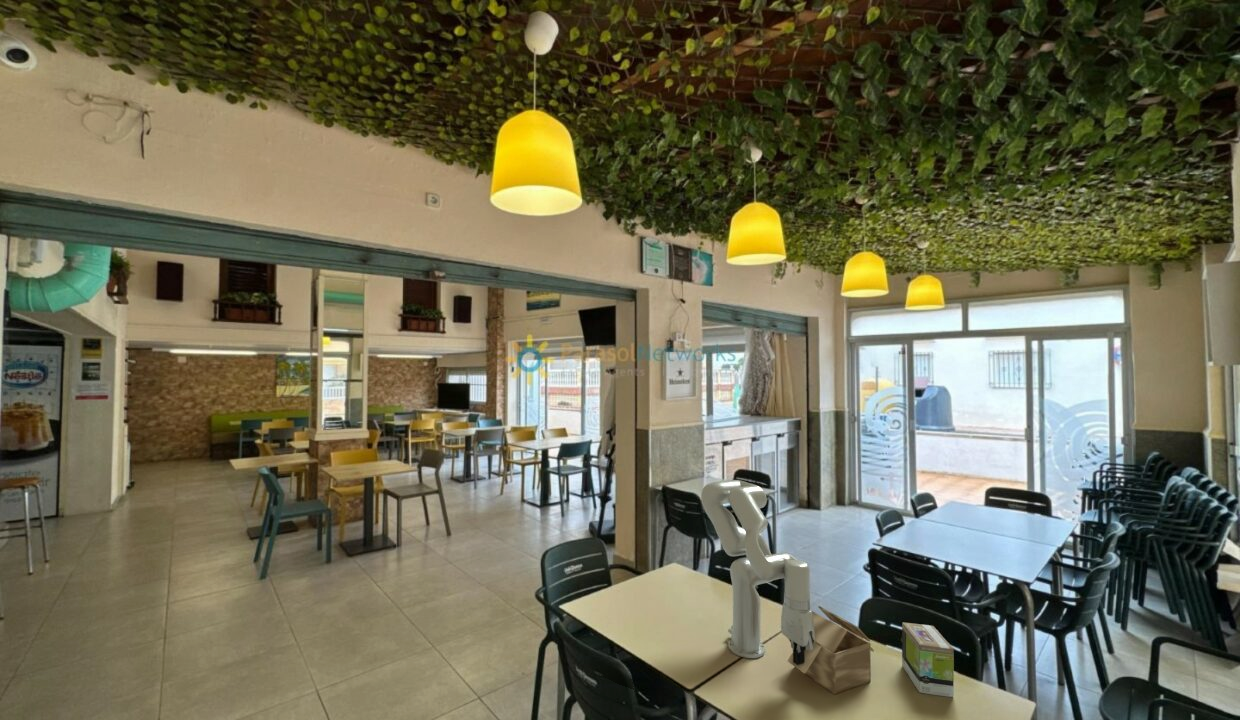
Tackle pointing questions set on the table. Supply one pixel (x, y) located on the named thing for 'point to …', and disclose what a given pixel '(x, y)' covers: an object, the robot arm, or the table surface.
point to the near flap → (821, 640)
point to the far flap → (845, 624)
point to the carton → (842, 665)
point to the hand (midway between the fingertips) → (798, 662)
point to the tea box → (928, 659)
